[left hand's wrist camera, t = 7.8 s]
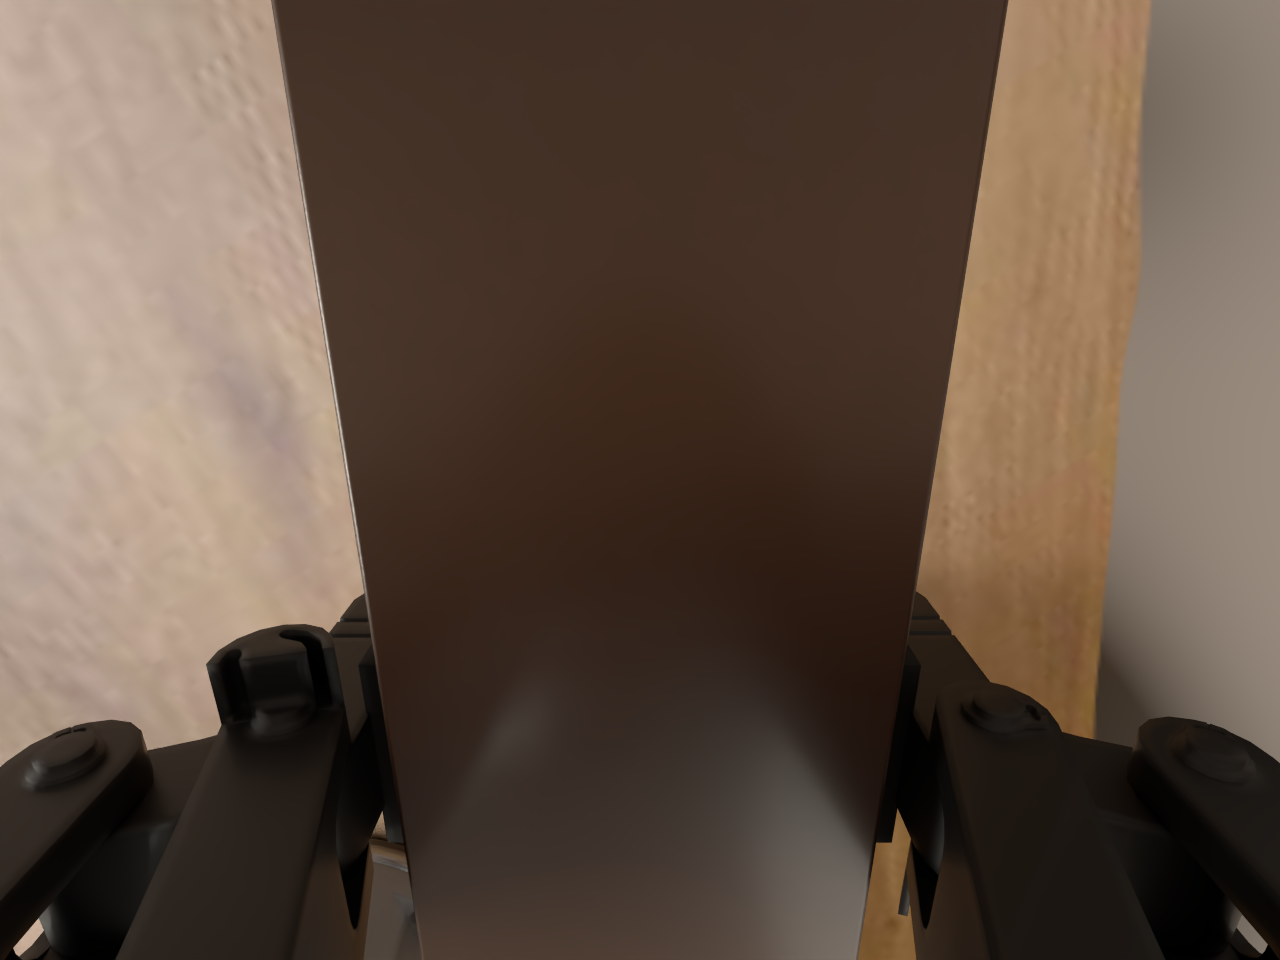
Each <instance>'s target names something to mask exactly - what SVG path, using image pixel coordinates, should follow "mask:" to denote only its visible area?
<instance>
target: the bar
mask: <svg viewBox="0 0 1280 960" xmlns="http://www.w3.org/2000/svg"><path fill="white" fill-rule="evenodd" d="M271 2H272V8H273V15H274V21H275V27H276V34H277V40H278V47H279V53H280V59H281V66H282V72H283V78H284V85H285V91H286V97H287V104H288V110H289V117H290V123H291V129H292V136H293V142H294V148H295V155H296V161H297V167H298V174H299V180H300V187H301V193H302V199H303V206H304V212H305V218H306V225H307V231H308V237H309V244H310V250H311V256H312V263H313V269H314V276H315V282H316V288H317V295H318V301H319V307H320V314H321V320H322V326H323V333H324V339H325V346H326V352H327V358H328V365H329V371H330V377H331V384H332V390H333V396H334V403H335V409H336V416H337V422H338V428H339V435H340V441H341V447H342V454H343V460H344V466H345V473H346V479H347V486H348V492H349V498H350V505H351V511H352V517H353V524H354V530H355V536H356V543H357V549H358V556H359V562H360V568H361V575H362V581H363V587H364V594H365V600H366V606H367V613H368V619H369V626H370V632H371V638H372V645H373V651H374V657H375V664H376V670H377V676H378V683H379V689H380V696H381V702H382V708H383V715H384V721H385V727H386V734H387V740H388V746H389V753H390V759H391V766H392V772H393V778H394V785H395V791H396V797H397V804H398V810H399V816H400V823H401V829H402V836H403V842H404V848H405V855H406V861H407V867H408V874H409V880H410V886H411V893H412V899H413V906H414V912H415V918H416V925H417V931H418V937H419V944H420V950H421V956H422V960H858V954H859V948H860V941H861V935H862V928H863V922H864V916H865V909H866V903H867V897H868V890H869V884H870V878H871V871H872V865H873V858H874V852H875V846H876V839H877V833H878V827H879V820H880V814H881V808H882V801H883V795H884V788H885V782H886V776H887V769H888V763H889V757H890V750H891V744H892V738H893V731H894V725H895V718H896V712H897V706H898V699H899V693H900V687H901V680H902V674H903V668H904V661H905V655H906V648H907V642H908V636H909V629H910V623H911V617H912V610H913V604H914V598H915V591H916V585H917V578H918V572H919V566H920V559H921V553H922V547H923V540H924V534H925V528H926V521H927V515H928V508H929V502H930V496H931V489H932V483H933V477H934V470H935V464H936V458H937V451H938V445H939V438H940V432H941V426H942V419H943V413H944V407H945V400H946V394H947V388H948V381H949V375H950V368H951V362H952V356H953V349H954V343H955V337H956V330H957V324H958V318H959V311H960V305H961V299H962V292H963V286H964V279H965V273H966V267H967V260H968V254H969V248H970V241H971V235H972V229H973V222H974V216H975V209H976V203H977V197H978V190H979V184H980V178H981V171H982V165H983V159H984V152H985V146H986V139H987V133H988V127H989V120H990V114H991V108H992V101H993V95H994V89H995V82H996V76H997V69H998V63H999V57H1000V50H1001V44H1002V38H1003V31H1004V25H1005V19H1006V12H1007V6H1008V0H271Z"/></svg>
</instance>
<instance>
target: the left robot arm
mask: <svg viewBox="0 0 1280 960" xmlns="http://www.w3.org/2000/svg"><path fill="white" fill-rule="evenodd" d="M206 666H207V670H208V674H209V677H210V681H211V685H212V689H213V693H214V697H215V701H216V705H217V708H218V712H219V716H220V720H221V724H222V726H221V728H220V730H219V732H218V734H217V735H216V736H212V737H208V738H205V739H201V740H196V741H191V742H186V743H182V744H177V745H172V746H167V747H163V748H158V749H153V750H148V751H147V748H146V744H145V741H144V738H143V735H142V731H141V730H140V729H138V728H137V727H136V726H135V725H133V724H132V723H131V722H124V721H117V720H106V721H98V722H90V723H85V724H80V725H76V726H74V727H72V728H70V727H69V728H66V729H63V730H61V731H58V732H56V733H54V734H52V735H50V736H48V737H46V738H44V739H42V740H40V741H38V742H36V743H34V744H32V745H30V746H28V747H27V748H26V749H24V750H23V751H21V752H20V753H18V754H17V755H16V756H14V757H13V758H11V759H10V760H8V761H7V762H6V763H5V764H3V765H2V766H1V767H0V960H422V956H421V950H420V944H419V937H418V931H417V925H416V918H415V912H414V906H413V899H412V893H411V886H410V880H409V874H408V867H407V861H406V855H405V848H404V846H403V845H400V844H396V843H404V842H403V836H402V829H401V823H400V816H399V810H398V804H397V797H396V791H395V785H394V778H393V772H392V766H391V759H390V753H389V746H388V740H387V734H386V727H385V721H384V715H383V708H382V702H381V696H380V689H379V683H378V676H377V670H376V664H375V657H374V651H373V645H372V638H371V632H370V626H369V619H368V613H367V606H366V600H365V594H363V595H361V596H360V597H358V598H356V599H355V600H354V601H353V602H352V604H351V605H350V606H349V608H348V609H347V610H346V612H345V613H344V614H343V615H342V617H341V618H340V622H337V623H336V625H335V626H334V627H333V629H332V630H331V631H330V633H328V632H327V631H326V630H324V629H323V628H320V627H316V626H312V625H307V624H295V625H281V626H276V627H271V628H267V629H262V630H259V631H256V632H253V633H251V634H248V635H246V636H243V637H241V638H238V639H236V640H235V641H233V642H231V643H230V644H228V645H227V646H225V647H223V648H222V649H220V650H219V651H218V652H217V653H216V654H215V655H214V656H213V657H212V658H211V659H210V661H209V662H208V663H207V664H206ZM897 808H898V810H899V812H900V815H901V817H902V819H903V821H904V824H905V826H906V828H907V830H908V833H909V835H910V837H911V842H910V847H909V853H908V858H907V864H906V869H905V875H904V880H903V886H902V892H901V897H900V904H899V911H898V914H901V915H905V916H908V910H909V905H910V907H911V916H912V925H913V933H914V942H915V951H916V959H917V960H1280V763H1279V762H1278V761H1277V760H1275V759H1274V758H1273V757H1271V756H1270V755H1268V754H1267V753H1266V752H1264V751H1263V750H1261V749H1260V748H1258V747H1257V746H1255V745H1254V744H1253V743H1251V742H1249V741H1247V740H1245V739H1243V738H1241V737H1239V736H1237V735H1235V734H1233V733H1231V732H1229V731H1227V730H1225V729H1223V728H1221V727H1218V726H1215V725H1212V724H1210V725H1209V724H1207V723H1206V722H1201V721H1197V720H1191V719H1184V718H1176V717H1163V718H1155V719H1149V720H1148V721H1147V722H1146V723H1144V724H1143V725H1142V726H1140V727H1139V730H1138V733H1137V736H1136V739H1135V742H1134V746H1133V748H1132V747H1127V746H1122V745H1118V744H1113V743H1108V742H1103V741H1098V740H1094V739H1089V738H1084V737H1079V736H1075V735H1072V734H1068V733H1064V732H1062V731H1061V729H1060V727H1059V724H1058V723H1057V722H1056V720H1055V719H1054V718H1053V716H1052V715H1051V714H1050V712H1049V711H1048V710H1047V709H1046V708H1045V707H1043V706H1042V705H1041V704H1039V703H1038V702H1037V701H1035V700H1034V699H1032V698H1031V697H1030V696H1028V695H1025V694H1023V693H1021V692H1019V691H1017V690H1014V689H1012V688H1010V687H1008V686H1004V685H1000V684H996V683H992V682H990V681H989V680H988V679H987V677H986V676H985V675H984V673H983V672H982V671H981V669H980V668H979V667H978V665H977V664H976V663H975V662H974V660H973V659H972V658H971V656H970V655H969V654H968V652H967V651H966V650H965V649H964V647H963V646H962V645H961V643H960V642H959V641H958V639H957V638H956V637H955V635H952V634H951V630H950V629H949V628H948V626H947V625H946V624H945V622H944V621H943V620H940V616H939V615H938V613H937V612H936V611H935V609H934V608H933V607H932V605H931V604H930V603H929V601H928V600H927V599H926V598H925V597H924V596H922V595H921V594H919V593H918V592H916V591H915V598H914V604H913V610H912V617H911V623H910V629H909V636H908V642H907V648H906V655H905V661H904V668H903V674H902V680H901V687H900V693H899V699H898V706H897V712H896V718H895V725H894V731H893V738H892V744H891V750H890V757H889V763H888V769H887V776H886V782H885V788H884V795H883V801H882V808H881V814H880V820H879V827H878V833H877V839H876V843H892V837H893V831H894V826H895V820H896V814H897ZM382 810H383V816H384V822H385V828H386V834H387V840H388V841H383V840H378V839H373V838H370V837H371V835H372V833H373V831H374V828H375V826H376V824H377V822H378V819H379V817H380V815H381V812H382ZM1241 915H1243V916H1244V917H1245V918H1246V919H1247V920H1248V922H1249V923H1250V924H1251V925H1252V926H1253V927H1254V929H1255V930H1256V931H1257V932H1258V933H1259V934H1260V936H1261V937H1262V938H1263V939H1264V940H1265V941H1266V943H1267V944H1268V945H1267V948H1266V950H1265V952H1264V953H1263V954H1261V953H1259V952H1258V951H1257V950H1256V949H1255V948H1254V947H1253V946H1252V945H1251V944H1250V943H1249V942H1248V941H1247V940H1246V939H1245V937H1244V936H1243V935H1242V934H1241V933H1240V931H1239V930H1238V929H1237V928H1236V927H1237V925H1238V923H1239V920H1240V918H1241ZM38 918H39V919H40V922H41V924H42V927H43V929H44V931H43V933H42V934H41V935H40V936H39V937H38V939H37V940H36V941H35V942H34V943H33V945H32V946H31V947H30V948H28V949H27V950H26V951H25V952H24V953H23V954H22V955H21V956H17V955H16V954H15V951H14V949H13V947H14V946H15V945H16V944H17V943H18V942H19V940H20V939H21V938H22V937H23V936H24V934H25V933H26V932H27V931H28V930H29V929H30V927H31V926H32V925H33V924H34V923H35V922H36V920H37V919H38Z"/></svg>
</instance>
